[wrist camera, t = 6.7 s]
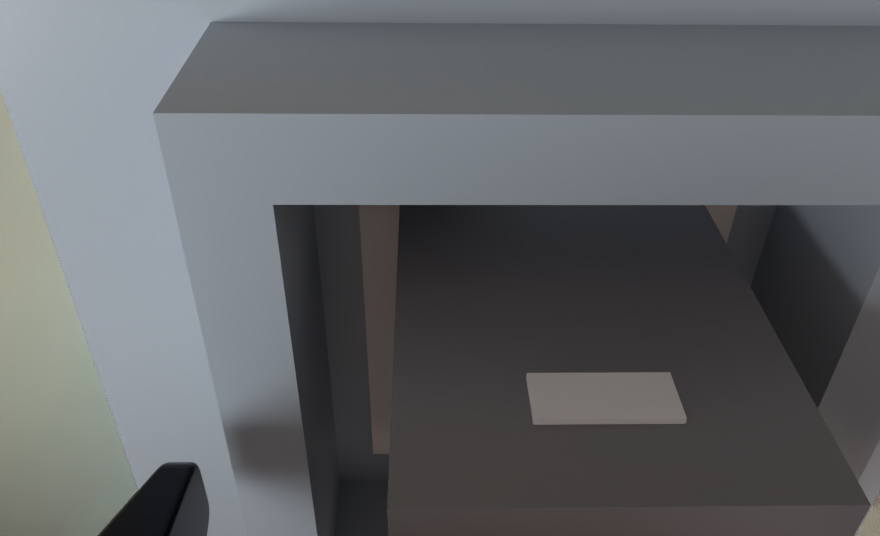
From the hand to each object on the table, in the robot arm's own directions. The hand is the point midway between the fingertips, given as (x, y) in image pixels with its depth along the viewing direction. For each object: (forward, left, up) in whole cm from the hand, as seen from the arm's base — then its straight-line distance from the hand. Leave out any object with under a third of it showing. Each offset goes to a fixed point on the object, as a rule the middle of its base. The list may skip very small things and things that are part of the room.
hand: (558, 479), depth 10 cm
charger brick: (0, 0, -3) cm, 3 cm away
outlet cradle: (0, 0, -4) cm, 4 cm away
